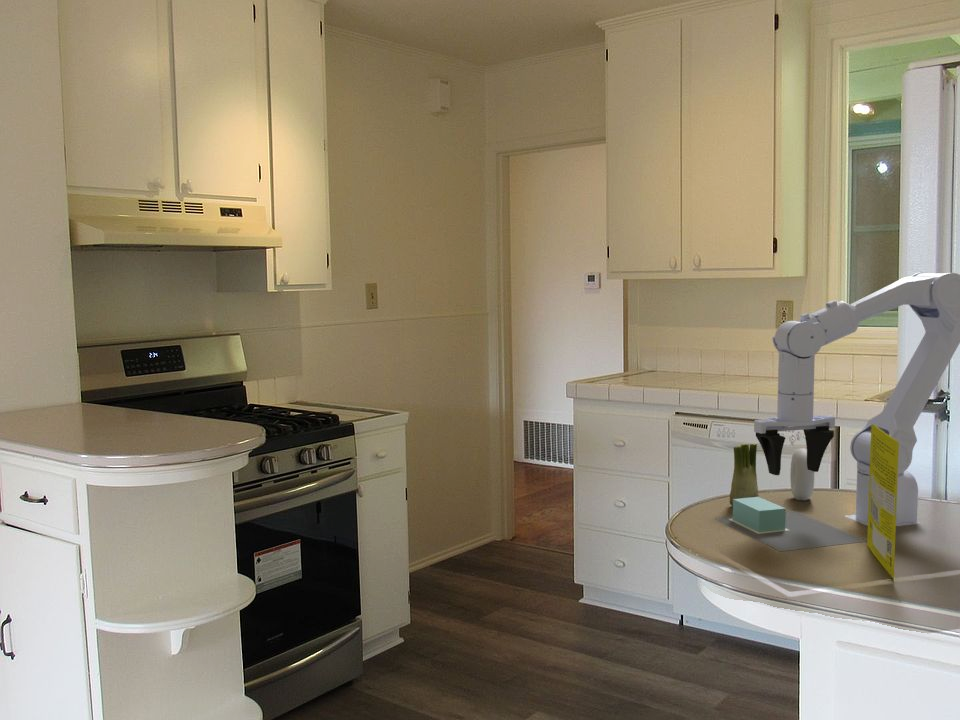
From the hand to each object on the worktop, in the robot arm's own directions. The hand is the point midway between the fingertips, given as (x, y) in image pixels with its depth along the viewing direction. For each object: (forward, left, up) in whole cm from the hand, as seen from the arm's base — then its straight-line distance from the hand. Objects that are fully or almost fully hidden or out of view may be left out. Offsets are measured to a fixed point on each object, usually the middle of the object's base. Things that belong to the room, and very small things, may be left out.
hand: (793, 472), depth 155 cm
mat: (+3, +3, -9) cm, 10 cm away
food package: (0, +21, -10) cm, 23 cm away
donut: (-12, -14, -10) cm, 21 cm away
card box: (+6, -1, -9) cm, 11 cm away
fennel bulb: (+1, -13, -10) cm, 16 cm away
